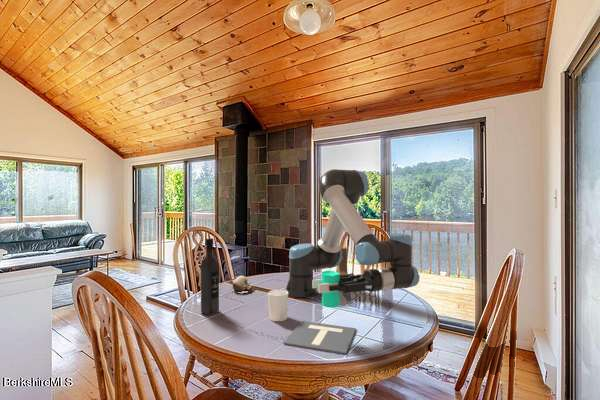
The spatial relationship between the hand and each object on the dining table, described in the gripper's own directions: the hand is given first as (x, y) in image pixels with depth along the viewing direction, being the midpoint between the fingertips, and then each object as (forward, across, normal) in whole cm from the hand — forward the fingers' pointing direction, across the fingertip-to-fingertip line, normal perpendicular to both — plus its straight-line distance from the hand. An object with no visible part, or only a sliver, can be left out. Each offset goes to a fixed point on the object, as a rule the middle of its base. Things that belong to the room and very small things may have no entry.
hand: (315, 286), depth 100 cm
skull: (+15, +62, -18) cm, 67 cm away
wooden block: (-41, +62, -18) cm, 76 cm away
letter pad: (-2, +1, -18) cm, 18 cm away
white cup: (+7, +22, -18) cm, 29 cm away
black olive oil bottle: (+32, +37, -18) cm, 52 cm away
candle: (-5, 0, -7) cm, 9 cm away
